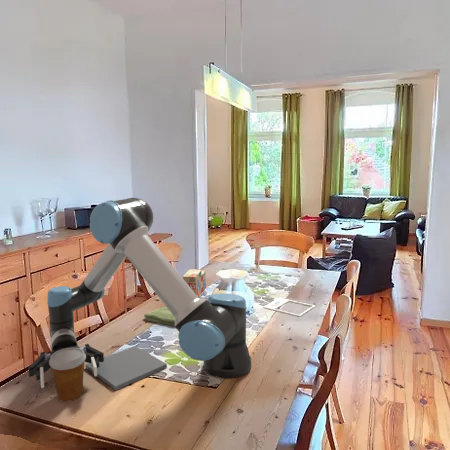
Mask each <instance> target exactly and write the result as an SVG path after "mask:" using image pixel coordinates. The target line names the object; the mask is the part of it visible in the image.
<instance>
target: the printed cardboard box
mask: <svg viewBox="0 0 450 450" xmlns="http://www.w3.org/2000/svg"><path fill="white" fill-rule="evenodd" d="M182 278H183V279H184V280H185V282H186V283H187V284H188V285H189V287H190V288H191V289H192V290H193V292H194V293H195V294H196V295H197V296H198V298H201V296H202V294H203V293H204V291H205V290H206V287H207V280H206V279H207V277H206V270H202V269H196V268H195V269H193V268H192V269H190V268H189V269H188V270H187V271H186V273H184V274H183V276H182ZM202 292H203V293H202ZM201 293H202V294H201ZM200 295H201V296H200Z"/></svg>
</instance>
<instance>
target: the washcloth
mask: <svg viewBox="0 0 450 450" xmlns="http://www.w3.org/2000/svg"><path fill="white" fill-rule="evenodd" d="M143 317H144V318H145V321H146V322H147V321H148V322H153V323H158V324H162V325H166V326H172V327H175V326H174V325H175V317H174V316H173V314H172V313H171V312H170V311H169V309H168V308H167V307H166V306H162V307H159V308H157V309H153V310H151V311H150V312H148V313H145V314H144V316H143Z"/></svg>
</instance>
